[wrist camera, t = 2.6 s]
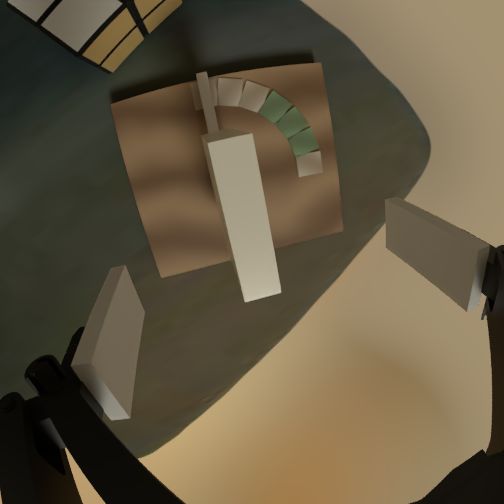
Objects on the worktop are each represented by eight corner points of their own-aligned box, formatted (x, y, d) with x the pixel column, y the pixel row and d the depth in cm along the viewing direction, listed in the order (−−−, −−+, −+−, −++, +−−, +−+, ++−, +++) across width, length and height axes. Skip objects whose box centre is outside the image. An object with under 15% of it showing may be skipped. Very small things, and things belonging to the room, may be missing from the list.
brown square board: (114, 105, 25) (109, 104, 24) (315, 64, 27) (321, 62, 25) (162, 271, 33) (161, 278, 31) (337, 226, 35) (343, 231, 33)
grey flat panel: (187, 77, 24) (186, 47, 13) (214, 71, 24) (232, 38, 13) (223, 234, 31) (245, 302, 20) (247, 228, 31) (281, 292, 20)
